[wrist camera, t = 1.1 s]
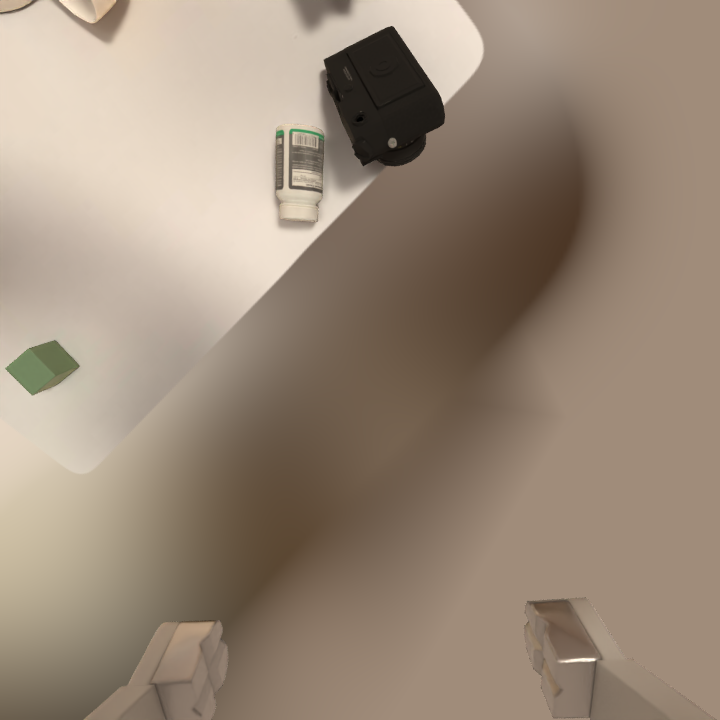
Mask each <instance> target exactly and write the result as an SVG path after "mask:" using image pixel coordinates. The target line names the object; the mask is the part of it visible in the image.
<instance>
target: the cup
mask: <svg viewBox="0 0 720 720" xmlns="http://www.w3.org/2000/svg"><path fill="white" fill-rule="evenodd" d="M59 1H60V2H61V3H62V4H63V5H64V6H65V7H66V8H67V9H69V10H70V11H71V12H72V13H73V14H75V15H76V16H77V17H79V18H80V19H82V20H84V21H86V22H88V23H96V22H97V21H98V20H100V19H101V18H102V17H103V16H104V15H105V14H106V13H107V12H108V11H109V10H110V9H111V8H112V7H113V6H114V4H115V3H116V2H117V0H59Z"/></svg>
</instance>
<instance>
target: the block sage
mask: <svg viewBox="0 0 720 720" xmlns="http://www.w3.org/2000/svg"><path fill="white" fill-rule="evenodd" d="M78 367H79V365H78V364H77V363H76V362H75V361H74V360H73V359H72V358H71V357H70V355H69V354H68V353H67V352H66V351H65V350H64V349H63V348H62V347H61V346H60V345H59V344H58V343H57V342H56V341H51V342H48V343H45V344H42V345H38V346H35V347H32V348H29V349H27V350H26V351H25V352H24V353H23V354H22V355H20V356H19V357H18V358H17V359H16V360H15V361H14V362H12V363H11V364H10V365H9V366H8V367H7V368H6V370H7V371H8V372H9V373H10V374H11V375H12V376H13V377H14V378H15V379H16V380H17V381H18V382H19V383H20V384H21V385H22V386H23V387H24V388H25V389H26V390H27V391H28V392H29V393H30V394H31V395H35V394H37V393H39V392H41V391H44V390H46V389H48V388H50V387H52V386H55V385H57V384H59V383H60V382H61V381H62V380H63V379H65V378H66V377H67V376H68V375H69V374H71V373H72V372H73V371H74V370H75V369H77V368H78Z"/></svg>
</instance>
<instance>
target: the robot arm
mask: <svg viewBox="0 0 720 720" xmlns="http://www.w3.org/2000/svg"><path fill="white" fill-rule="evenodd" d="M31 1H33V0H0V12H6V11H12V10H16V9H19V8H21V7H23V6H25V5H27V4H29V3H30V2H31ZM525 614H526V616H527V618H528V623H527V624H526V625H525V627H524V636H525V642H526V649H527V652H528V655H529V659H530V661H531V664H532V666H533V669H534V670H535V671H536V672H538V673H539V674H540V675H541V676H542V677H541V689H542V692H543V694H544V697H545V699H546V701H547V704H548V707H549V709H550V712H551V714H552V717H553V718H590V720H716V719H715V718H713V717H712V716H711V715H709V714H708V713H707V712H705V711H704V710H702V709H701V708H700V707H698V706H697V705H696V704H694V703H693V702H691V701H690V700H689V699H687V698H686V697H685V696H683V695H682V694H680V693H679V692H678V691H676V690H675V689H674V688H672V687H671V686H669V685H668V684H667V683H665V682H664V681H663V680H661V679H660V678H659V677H657V676H656V675H654V674H653V673H652V672H650V671H649V670H648V669H646V668H645V667H643V666H642V665H641V664H639V663H638V662H637V661H635V660H634V659H626V658H625V656H624V654H623V653H622V651H621V650H620V648H619V646H618V645H617V643H616V642H615V640H614V639H613V637H612V635H611V634H610V632H609V631H608V629H607V628H606V626H605V625H604V623H603V621H602V620H601V618H600V617H599V615H598V613H597V612H596V610H595V609H594V607H593V606H592V604H591V602H590V601H589V600H588V599H587V598H571V599H552V600H539V601H527V603H526V605H525ZM222 632H223V628H222V624H221V621H218V620H215V621H182V622H164V623H162V625H161V626H159V628H158V629H157V631H156V633H155V634H154V636H153V638H152V640H151V642H150V644H149V646H148V648H147V650H146V651H145V653H144V655H143V657H142V659H141V661H140V663H139V665H138V667H137V668H136V670H135V672H134V674H133V676H132V678H131V680H130V682H129V683H128V685H127V686H122V687H120V688H119V689H118V690H117V691H116V692H115V693H114V694H112V695H111V696H110V697H109V698H108V699H107V700H105V701H104V702H103V703H102V704H101V705H100V706H99V707H98V708H96V709H95V710H94V711H93V712H92V713H91V714H90V715H88V716H87V717H86V718H85V719H84V720H212V718H213V714H214V711H215V708H216V701H215V697H214V695H215V693H216V692H217V691H218V690H219V689H220V688H221V687H222V686H223V683H224V679H225V676H226V671H227V665H228V649H227V644H226V643H225V642H224V641H223V640H222V639H221V635H222Z"/></svg>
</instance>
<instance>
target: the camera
mask: <svg viewBox="0 0 720 720" xmlns="http://www.w3.org/2000/svg"><path fill="white" fill-rule="evenodd" d="M324 63H325V67H326V70H327V73H328V74H327V78H328V81H327V88H328V91H329V93H330V95H332V97H333V99H334V102H335V105H336V107H337V109H338V112H339V115H340V118H341V121H342V123H343V125H344V127H345V129H346V132H347V134H348V136H349V138H350V140H351V142H352V144H353V146H352V148H353V149H354V151H355V154H354V155H355V156H356V157H357V158H358V159H359V160H360V161H361V163H362V165H363V166H364V165H366V164H368V163H371V162H373V161H375V160H378V161H379V162H380V163H382V164H384V165H386V166H400V165H404V164H407V163H409V162H411V161H412V160H414V159H415V158H416V157H418V156H419V155H420V154H421V152H422V151H423V150H424V147H425V145H426V133H428V132H430V131H432V130H434V129H436V128H438V127H440V126H441V125H443V124H444V119H445V113H444V106H443V103H442V100H441V97H440V95H439V93H438V91H437V90H436V88H435V87H434V85H433V84H432V82H431V81H430V79H429V78H428V77H427V75H426V74H425V72H424V71H423V69H422V68H421V66H420V65H419V63H418V62H417V60H416V59H415V57H414V56H413V55H412V53H411V52H410V50H409V49H408V47H407V46H406V44H405V43H404V41H403V40H402V38H401V37H400V35H399V34H398V32H397V31H396V30H395V28H394V27H393V26H390V27H387V28H385V29H383V30H381V31H379V32H377V33H375V34H373V35H371V36H369V37H367V38H365V39H363V40H361V41H359V42H357V43H355V44H353V45H351V46H349V47H347V48H345V49H344V50H342V51H340V52H338V53H336V54H334V55H332V56H330V57H328V58H326V59H324Z"/></svg>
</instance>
